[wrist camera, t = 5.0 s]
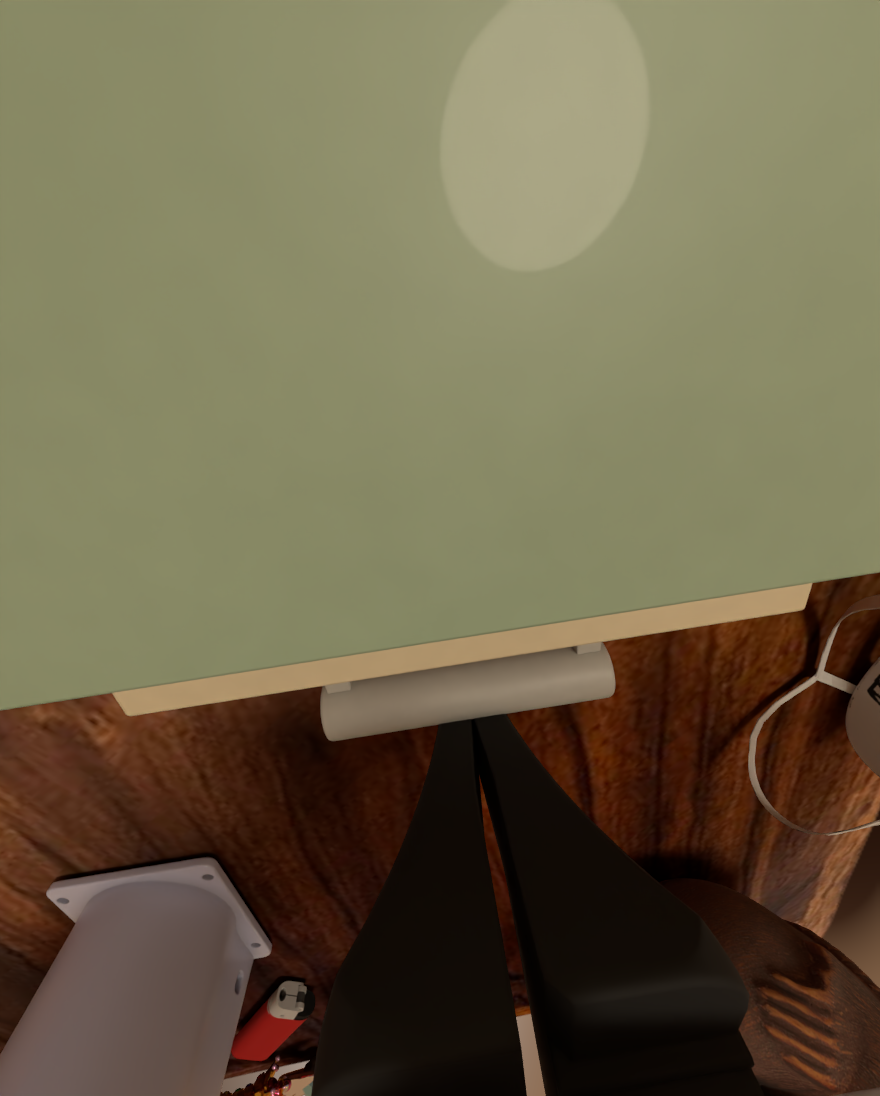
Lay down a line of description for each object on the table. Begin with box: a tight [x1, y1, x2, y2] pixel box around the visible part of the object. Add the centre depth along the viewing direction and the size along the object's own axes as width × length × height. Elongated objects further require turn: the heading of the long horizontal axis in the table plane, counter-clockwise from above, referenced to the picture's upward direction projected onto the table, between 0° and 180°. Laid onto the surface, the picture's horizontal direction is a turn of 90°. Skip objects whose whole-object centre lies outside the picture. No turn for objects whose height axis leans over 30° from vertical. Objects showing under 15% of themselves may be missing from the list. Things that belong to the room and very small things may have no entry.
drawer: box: [112, 583, 812, 741], centre depth 7 cm, size 17×10×7 cm, turn 8°
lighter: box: [231, 981, 315, 1061], centre depth 27 cm, size 3×1×8 cm
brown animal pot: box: [659, 878, 880, 1096], centre depth 18 cm, size 15×13×15 cm
